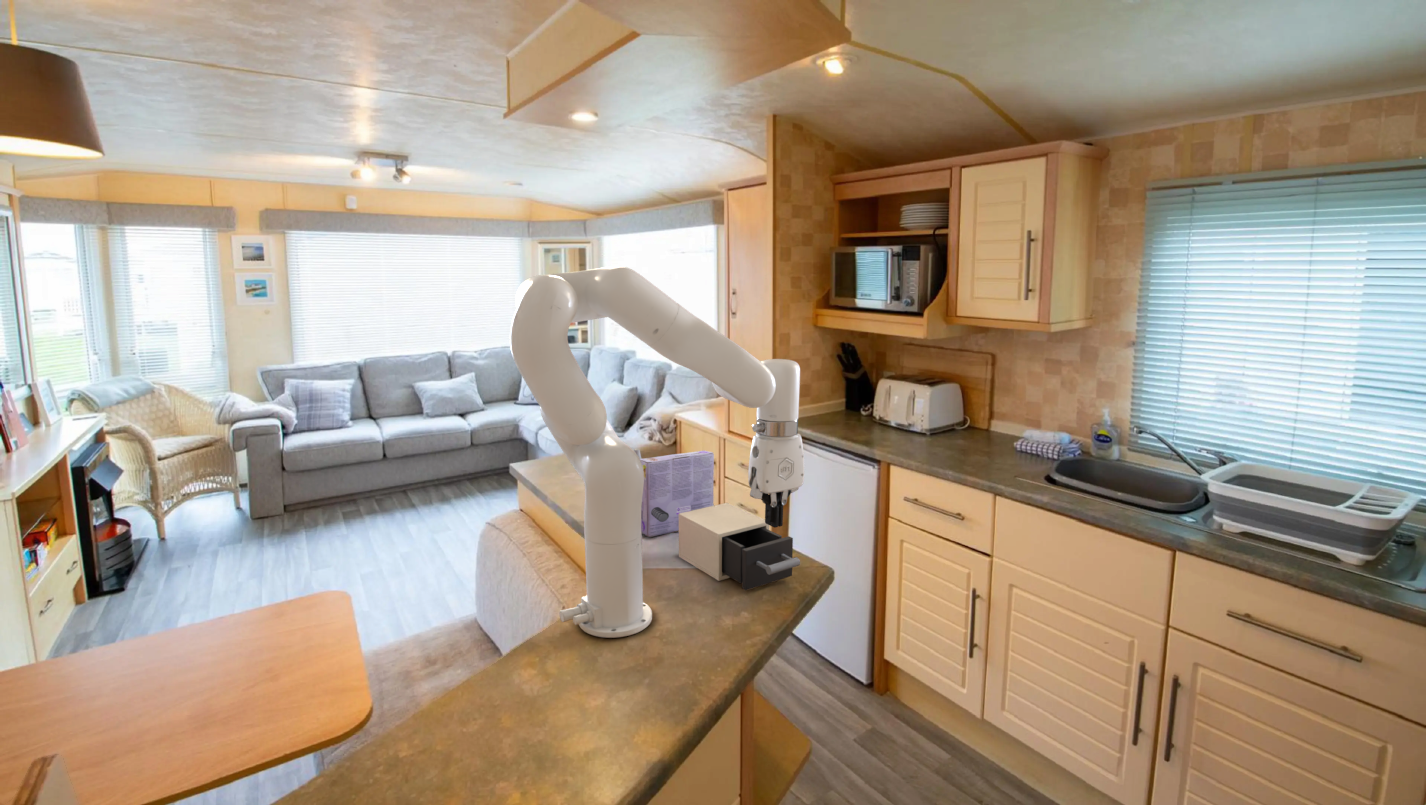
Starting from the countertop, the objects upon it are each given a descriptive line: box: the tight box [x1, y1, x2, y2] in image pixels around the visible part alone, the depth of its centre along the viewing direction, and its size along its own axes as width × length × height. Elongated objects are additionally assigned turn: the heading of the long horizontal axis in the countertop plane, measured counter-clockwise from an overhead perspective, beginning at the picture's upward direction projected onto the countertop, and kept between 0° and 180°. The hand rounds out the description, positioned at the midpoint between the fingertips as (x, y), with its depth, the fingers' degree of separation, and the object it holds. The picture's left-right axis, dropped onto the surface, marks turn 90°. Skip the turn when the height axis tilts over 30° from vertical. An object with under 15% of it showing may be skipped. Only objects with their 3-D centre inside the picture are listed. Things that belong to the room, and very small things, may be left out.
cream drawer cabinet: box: [678, 502, 770, 582], centre depth 144 cm, size 15×13×10 cm
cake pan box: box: [640, 450, 715, 538], centre depth 163 cm, size 19×5×18 cm, turn 123°
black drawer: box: [722, 527, 801, 591], centre depth 135 cm, size 18×11×8 cm, turn 35°
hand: (773, 524), depth 129 cm, fingers closed
